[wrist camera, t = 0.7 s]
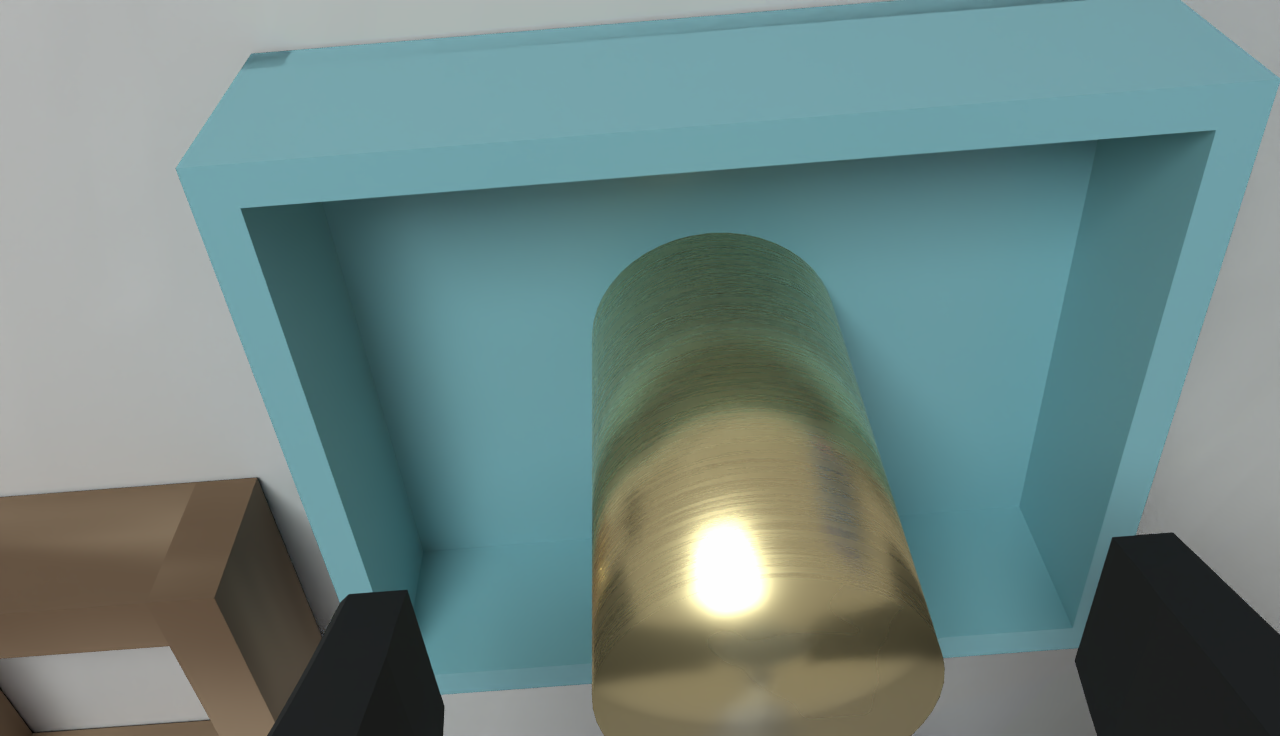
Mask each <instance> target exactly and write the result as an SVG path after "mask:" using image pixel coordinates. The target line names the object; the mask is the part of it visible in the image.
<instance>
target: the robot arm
mask: <svg viewBox="0 0 1280 736" xmlns="http://www.w3.org/2000/svg"><path fill="white" fill-rule="evenodd" d="M1075 663H1076V667H1077V670H1078V673H1079V677H1080V680H1081V684H1082V687H1083V690H1084V694H1085V697H1086V701H1087V704H1088V707H1089V711H1090V714H1091V717H1092V720H1093V723H1094V726H1095V730H1096V733H1097V736H1280V634H1279V633H1278V632H1277V631H1275V630H1274V629H1273V628H1272V627H1271V626H1270V625H1269V624H1268V623H1267V622H1266V621H1265V620H1264V619H1263V618H1262V617H1261V616H1260V615H1259V614H1258V613H1257V612H1255V611H1254V610H1253V609H1252V608H1251V607H1250V606H1249V605H1248V604H1247V603H1246V602H1245V601H1244V600H1243V599H1242V598H1241V597H1240V596H1239V595H1238V594H1237V593H1236V592H1235V591H1234V590H1233V589H1231V588H1230V587H1229V586H1228V585H1227V584H1226V583H1225V582H1224V581H1223V580H1222V579H1221V578H1220V577H1219V576H1218V575H1217V574H1216V573H1215V572H1214V571H1213V570H1212V569H1211V568H1210V567H1209V566H1208V565H1206V564H1205V563H1204V562H1203V561H1202V560H1201V559H1200V558H1199V557H1198V556H1197V555H1196V554H1195V553H1194V552H1193V551H1192V550H1191V549H1190V548H1189V547H1188V546H1186V545H1185V544H1184V543H1183V542H1182V541H1181V540H1180V539H1179V538H1178V537H1177V536H1176V535H1175V534H1174V533H1160V534H1147V535H1133V536H1120V537H1112V539H1111V543H1110V546H1109V549H1108V553H1107V556H1106V559H1105V562H1104V566H1103V569H1102V572H1101V576H1100V579H1099V582H1098V586H1097V589H1096V592H1095V595H1094V599H1093V602H1092V605H1091V609H1090V612H1089V615H1088V618H1087V622H1086V625H1085V628H1084V632H1083V635H1082V638H1081V642H1080V645H1079V648H1078V651H1077V655H1076V658H1075ZM443 725H444V704H443V700H442V697H441V694H440V691H439V688H438V685H437V682H436V678H435V675H434V672H433V669H432V666H431V663H430V659H429V656H428V653H427V650H426V647H425V644H424V640H423V637H422V634H421V631H420V628H419V625H418V622H417V618H416V615H415V612H414V609H413V606H412V603H411V599H410V596H409V593H408V590H396V591H382V592H369V593H356V594H348V595H347V596H346V597H345V598H344V599H343V600H342V601H341V602H340V604H339V606H338V608H337V610H336V612H335V614H334V616H333V618H332V620H331V622H330V623H329V625H328V627H327V629H326V631H325V633H324V635H323V637H322V639H321V641H320V642H319V644H318V646H317V648H316V650H315V652H314V654H313V656H312V657H311V659H310V661H309V663H308V665H307V667H306V668H305V670H304V672H303V674H302V676H301V677H300V679H299V681H298V683H297V685H296V686H295V688H294V690H293V692H292V693H291V695H290V697H289V699H288V700H287V702H286V704H285V706H284V707H283V709H282V711H281V713H280V715H279V716H278V718H277V720H276V722H275V723H274V725H273V727H272V728H271V730H270V732H269V733H268V735H267V736H443Z"/></svg>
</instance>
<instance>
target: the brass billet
mask: <svg viewBox="0 0 1280 736" xmlns="http://www.w3.org/2000/svg"><path fill="white" fill-rule="evenodd" d="M944 671H945V668H944V661H943V655H942V652H941V649H940V645H939V642H938V639H937V636H936V633H935V630H934V626H933V623H932V620H931V617H930V614H929V610H928V607H927V604H926V601H925V598H924V594H923V591H922V588H921V585H920V582H919V579H918V575H917V572H916V569H915V566H914V563H913V559H912V556H911V553H910V550H909V547H908V543H907V540H906V537H905V534H904V531H903V528H902V524H901V521H900V518H899V515H898V512H897V508H896V505H895V502H894V499H893V496H892V492H891V489H890V486H889V483H888V480H887V477H886V473H885V470H884V467H883V464H882V461H881V457H880V454H879V451H878V448H877V445H876V441H875V438H874V435H873V432H872V429H871V426H870V422H869V419H868V416H867V413H866V410H865V406H864V403H863V400H862V397H861V394H860V390H859V387H858V384H857V381H856V378H855V375H854V371H853V368H852V365H851V362H850V359H849V355H848V352H847V349H846V346H845V343H844V339H843V336H842V333H841V330H840V327H839V324H838V320H837V317H836V314H835V311H834V308H833V304H832V301H831V299H830V296H829V293H828V291H827V289H826V287H825V285H824V284H823V282H822V280H821V279H820V277H819V276H818V275H817V274H816V272H815V271H814V270H813V269H812V268H811V267H810V266H809V265H808V264H807V263H806V262H805V261H804V260H803V259H802V258H800V257H799V256H797V255H796V254H794V253H793V252H791V251H790V250H788V249H786V248H784V247H782V246H780V245H778V244H776V243H774V242H771V241H768V240H765V239H762V238H759V237H755V236H750V235H745V234H737V233H706V234H699V235H692V236H688V237H684V238H680V239H676V240H674V241H671V242H668V243H666V244H663V245H660V246H659V247H657V248H655V249H653V250H651V251H649V252H647V253H645V254H644V255H642V256H641V257H639V258H638V259H636V260H635V261H633V262H632V263H631V264H630V265H629V266H628V267H626V268H625V269H624V270H623V271H622V272H621V273H620V274H619V275H618V276H617V277H616V279H615V280H614V281H613V282H612V283H611V284H610V286H609V288H608V289H607V291H606V292H605V294H604V295H603V297H602V299H601V301H600V304H599V306H598V308H597V311H596V315H595V318H594V322H593V330H592V703H593V711H594V714H595V718H596V721H597V723H598V725H599V727H600V729H601V731H602V733H603V734H604V736H911V735H912V734H913V733H914V732H915V731H916V730H917V729H918V728H919V727H920V726H921V725H922V724H923V723H924V722H925V720H926V719H927V718H928V716H929V715H930V713H931V712H932V711H933V709H934V707H935V705H936V703H937V701H938V699H939V697H940V694H941V690H942V687H943V683H944Z"/></svg>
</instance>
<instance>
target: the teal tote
mask: <svg viewBox="0 0 1280 736" xmlns="http://www.w3.org/2000/svg"><path fill="white" fill-rule="evenodd" d="M1279 83H1280V78H1279V77H1277V76H1276V75H1275V74H1273V73H1272V72H1271V71H1270V70H1268V69H1267V68H1266V67H1265V66H1263V65H1262V64H1261V63H1259V62H1258V61H1257V60H1256V59H1254V58H1253V57H1252V56H1251V55H1249V54H1248V53H1247V52H1245V51H1244V50H1243V49H1242V48H1240V47H1239V46H1238V45H1237V44H1235V43H1234V42H1233V41H1231V40H1230V39H1229V38H1228V37H1226V36H1225V35H1224V34H1223V33H1221V32H1220V31H1219V30H1217V29H1216V28H1215V27H1214V26H1212V25H1211V24H1210V23H1209V22H1207V21H1206V20H1205V19H1203V18H1202V17H1201V16H1200V15H1198V14H1197V13H1196V12H1195V11H1193V10H1192V9H1191V8H1189V7H1188V6H1187V5H1186V4H1184V3H1183V2H1182V1H1181V0H898V1H886V2H873V3H861V4H849V5H837V6H825V7H813V8H801V9H788V10H776V11H764V12H752V13H740V14H728V15H716V16H703V17H691V18H679V19H667V20H655V21H643V22H631V23H618V24H606V25H594V26H582V27H570V28H558V29H546V30H533V31H521V32H509V33H497V34H485V35H473V36H461V37H449V38H436V39H424V40H412V41H400V42H388V43H376V44H364V45H351V46H339V47H327V48H315V49H303V50H291V51H279V52H266V53H254V54H251V55H250V57H249V58H248V60H247V61H246V63H245V64H244V66H243V67H242V69H241V70H240V72H239V73H238V75H237V76H236V78H235V79H234V81H233V82H232V84H231V85H230V87H229V88H228V90H227V91H226V93H225V94H224V96H223V97H222V99H221V100H220V102H219V104H218V105H217V107H216V108H215V110H214V111H213V113H212V114H211V116H210V117H209V119H208V120H207V122H206V123H205V125H204V126H203V128H202V129H201V131H200V132H199V134H198V135H197V137H196V138H195V140H194V141H193V143H192V144H191V146H190V147H189V149H188V151H187V152H186V154H185V155H184V157H183V158H182V160H181V161H180V163H179V164H178V166H177V167H176V171H177V173H178V176H179V179H180V181H181V184H182V187H183V189H184V192H185V195H186V197H187V200H188V202H189V205H190V208H191V210H192V213H193V216H194V218H195V221H196V224H197V226H198V229H199V232H200V234H201V237H202V239H203V242H204V245H205V247H206V250H207V253H208V255H209V258H210V261H211V263H212V266H213V269H214V271H215V274H216V276H217V279H218V282H219V284H220V287H221V290H222V292H223V295H224V298H225V300H226V303H227V306H228V308H229V311H230V313H231V316H232V319H233V321H234V324H235V327H236V329H237V332H238V335H239V337H240V340H241V343H242V345H243V348H244V350H245V353H246V356H247V358H248V361H249V364H250V366H251V369H252V372H253V374H254V377H255V380H256V382H257V385H258V387H259V390H260V393H261V395H262V398H263V401H264V403H265V406H266V409H267V411H268V414H269V417H270V419H271V422H272V424H273V427H274V430H275V432H276V435H277V438H278V440H279V443H280V446H281V448H282V451H283V454H284V456H285V459H286V461H287V464H288V467H289V469H290V472H291V475H292V477H293V480H294V483H295V485H296V488H297V491H298V493H299V496H300V498H301V501H302V504H303V506H304V509H305V512H306V514H307V517H308V520H309V522H310V525H311V528H312V530H313V533H314V535H315V538H316V541H317V543H318V546H319V549H320V551H321V554H322V557H323V559H324V562H325V565H326V567H327V570H328V572H329V575H330V578H331V580H332V583H333V586H334V588H335V591H336V594H337V596H338V599H339V602H341V601H342V600H343V599H344V598H345V597H346V596H347V595H348V594H356V593H369V592H382V591H396V590H408V593H409V596H410V599H411V603H412V606H413V609H414V612H415V615H416V618H417V622H418V625H419V628H420V631H421V634H422V637H423V640H424V644H425V647H426V650H427V653H428V656H429V659H430V663H431V666H432V669H433V672H434V675H435V678H436V682H437V685H438V688H439V691H440V694H441V695H443V694H457V693H470V692H484V691H498V690H511V689H525V688H539V687H552V686H566V685H580V684H592V330H593V322H594V318H595V315H596V311H597V308H598V306H599V304H600V301H601V299H602V297H603V295H604V294H605V292H606V291H607V289H608V288H609V286H610V284H611V283H612V282H613V281H614V280H615V279H616V277H617V276H618V275H619V274H620V273H621V272H622V271H623V270H624V269H625V268H626V267H628V266H629V265H630V264H631V263H632V262H633V261H635V260H636V259H638V258H639V257H641V256H642V255H644V254H645V253H647V252H649V251H651V250H653V249H655V248H657V247H659V246H660V245H663V244H666V243H668V242H671V241H674V240H676V239H680V238H684V237H688V236H692V235H699V234H706V233H737V234H745V235H750V236H755V237H759V238H762V239H765V240H768V241H771V242H774V243H776V244H778V245H780V246H782V247H784V248H786V249H788V250H790V251H791V252H793V253H794V254H796V255H797V256H799V257H800V258H802V259H803V260H804V261H805V262H806V263H807V264H808V265H809V266H810V267H811V268H812V269H813V270H814V271H815V272H816V274H817V275H818V276H819V277H820V279H821V280H822V282H823V284H824V285H825V287H826V289H827V291H828V293H829V296H830V299H831V301H832V304H833V308H834V311H835V314H836V317H837V320H838V324H839V327H840V330H841V333H842V336H843V339H844V343H845V346H846V349H847V352H848V355H849V359H850V362H851V365H852V368H853V371H854V375H855V378H856V381H857V384H858V387H859V390H860V394H861V397H862V400H863V403H864V406H865V410H866V413H867V416H868V419H869V422H870V426H871V429H872V432H873V435H874V438H875V441H876V445H877V448H878V451H879V454H880V457H881V461H882V464H883V467H884V470H885V473H886V477H887V480H888V483H889V486H890V489H891V492H892V496H893V499H894V502H895V505H896V508H897V512H898V515H899V518H900V521H901V524H902V528H903V531H904V534H905V537H906V540H907V543H908V547H909V550H910V553H911V556H912V559H913V563H914V566H915V569H916V572H917V575H918V579H919V582H920V585H921V588H922V591H923V594H924V598H925V601H926V604H927V607H928V610H929V614H930V617H931V620H932V623H933V626H934V630H935V633H936V636H937V639H938V642H939V645H940V649H941V652H942V655H943V658H949V657H963V656H977V655H991V654H1004V653H1018V652H1032V651H1045V650H1059V649H1073V648H1079V645H1080V642H1081V638H1082V635H1083V632H1084V628H1085V625H1086V622H1087V618H1088V615H1089V612H1090V609H1091V605H1092V602H1093V599H1094V595H1095V592H1096V589H1097V586H1098V582H1099V579H1100V576H1101V572H1102V569H1103V566H1104V562H1105V559H1106V556H1107V553H1108V549H1109V546H1110V543H1111V539H1112V537H1120V536H1133V535H1136V532H1137V529H1138V526H1139V522H1140V519H1141V516H1142V513H1143V510H1144V507H1145V504H1146V500H1147V497H1148V494H1149V491H1150V488H1151V485H1152V482H1153V478H1154V475H1155V472H1156V469H1157V466H1158V463H1159V460H1160V457H1161V453H1162V450H1163V447H1164V444H1165V441H1166V438H1167V435H1168V431H1169V428H1170V425H1171V422H1172V419H1173V416H1174V413H1175V409H1176V406H1177V403H1178V400H1179V397H1180V394H1181V391H1182V387H1183V384H1184V381H1185V378H1186V375H1187V372H1188V369H1189V365H1190V362H1191V359H1192V356H1193V353H1194V350H1195V347H1196V344H1197V340H1198V337H1199V334H1200V331H1201V328H1202V325H1203V322H1204V318H1205V315H1206V312H1207V309H1208V306H1209V303H1210V300H1211V296H1212V293H1213V290H1214V287H1215V284H1216V281H1217V278H1218V274H1219V271H1220V268H1221V265H1222V262H1223V259H1224V256H1225V252H1226V249H1227V246H1228V243H1229V240H1230V237H1231V234H1232V231H1233V227H1234V224H1235V221H1236V218H1237V215H1238V212H1239V209H1240V205H1241V202H1242V199H1243V196H1244V193H1245V190H1246V187H1247V183H1248V180H1249V177H1250V174H1251V171H1252V168H1253V165H1254V161H1255V158H1256V155H1257V152H1258V149H1259V146H1260V143H1261V139H1262V136H1263V133H1264V130H1265V127H1266V124H1267V121H1268V118H1269V114H1270V111H1271V108H1272V105H1273V102H1274V99H1275V96H1276V92H1277V89H1278V86H1279Z"/></svg>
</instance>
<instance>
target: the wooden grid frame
mask: <svg viewBox="0 0 1280 736" xmlns="http://www.w3.org/2000/svg"><path fill="white" fill-rule="evenodd" d="M321 639H322V636H321V634H320V631H319V629H318V626H317V624H316V621H315V619H314V617H313V614H312V612H311V609H310V607H309V604H308V602H307V599H306V597H305V594H304V592H303V589H302V587H301V585H300V582H299V580H298V577H297V575H296V572H295V570H294V567H293V565H292V562H291V560H290V558H289V555H288V553H287V550H286V548H285V545H284V543H283V540H282V538H281V535H280V533H279V531H278V528H277V526H276V523H275V521H274V518H273V516H272V513H271V511H270V508H269V506H268V504H267V501H266V499H265V496H264V494H263V491H262V489H261V486H260V484H259V481H258V479H257V478H247V479H233V480H220V481H207V482H194V483H181V484H168V485H155V486H142V487H129V488H116V489H102V490H89V491H76V492H63V493H50V494H37V495H24V496H11V497H0V659H1V658H15V657H28V656H42V655H55V654H69V653H82V652H96V651H109V650H123V649H136V648H150V647H163V646H170V648H171V650H172V651H173V653H174V655H175V657H176V659H177V660H178V662H179V664H180V666H181V668H182V670H183V671H184V673H185V675H186V677H187V679H188V680H189V682H190V684H191V686H192V688H193V689H194V691H195V693H196V695H197V697H198V698H199V700H200V702H201V704H202V706H203V707H204V709H205V711H206V713H207V715H208V716H209V718H210V720H209V721H195V722H181V723H167V724H154V725H140V726H126V727H113V728H99V729H85V730H71V731H58V732H44V733H32V732H31V731H30V729H29V728H28V727H27V725H26V724H25V723H24V721H23V720H22V718H21V717H20V716H19V714H18V713H17V712H16V710H15V709H14V708H13V706H12V705H11V704H10V702H9V701H8V700H7V698H6V697H5V696H4V694H3V693H2V692H1V690H0V736H267V735H268V733H269V732H270V730H271V728H272V727H273V725H274V723H275V722H276V720H277V718H278V716H279V715H280V713H281V711H282V709H283V707H284V706H285V704H286V702H287V700H288V699H289V697H290V695H291V693H292V692H293V690H294V688H295V686H296V685H297V683H298V681H299V679H300V677H301V676H302V674H303V672H304V670H305V668H306V667H307V665H308V663H309V661H310V659H311V657H312V656H313V654H314V652H315V650H316V648H317V646H318V644H319V642H320V641H321Z"/></svg>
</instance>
